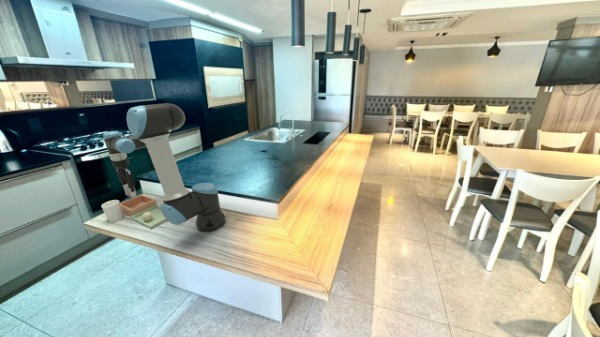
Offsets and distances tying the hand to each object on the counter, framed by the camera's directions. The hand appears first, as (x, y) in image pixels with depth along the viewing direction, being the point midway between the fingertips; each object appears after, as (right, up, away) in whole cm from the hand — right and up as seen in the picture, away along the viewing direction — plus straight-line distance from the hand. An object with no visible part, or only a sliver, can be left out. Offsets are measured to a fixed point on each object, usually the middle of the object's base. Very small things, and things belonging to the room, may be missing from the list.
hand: (131, 195), depth 139 cm
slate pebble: (0, -1, 0) cm, 1 cm away
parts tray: (+19, -12, -8) cm, 24 cm away
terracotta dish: (+4, -9, +1) cm, 10 cm away
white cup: (-3, -13, -8) cm, 15 cm away
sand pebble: (+17, -13, -10) cm, 24 cm away
